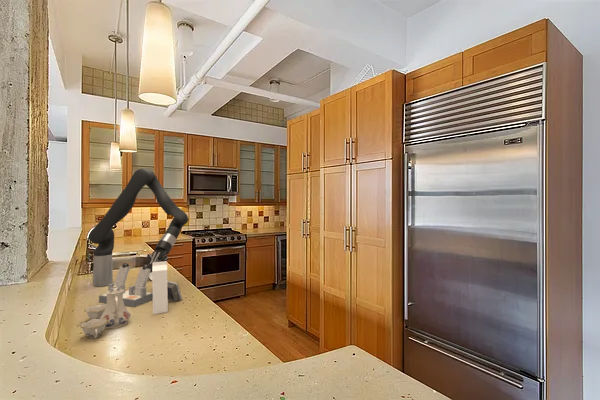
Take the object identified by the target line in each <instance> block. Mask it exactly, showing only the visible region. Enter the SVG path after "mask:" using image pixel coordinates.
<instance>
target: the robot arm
mask: <svg viewBox="0 0 600 400" xmlns="http://www.w3.org/2000/svg"><path fill="white" fill-rule="evenodd" d="M145 186H147V187H148V188H149V189H150V190H151V192H152V193H153V194H154V196H155V198H156V201H157V203H158V205H159V206H160V208H161V209H162V210H163V212H164V213H165V214H166V215H171V216H172V217H173V218H172V220H171V221H170V223H169V225H168V228H166V231H165V232H164V233H163V235H162V236H161V237H160V239H159V241H158V243H156V245H155V247H154V251H152V252H151V254H149V253H148V254H147V255H146V259H147V263H148V264H150V265H149V269H151V270H150V272H152V263H153V262H161V261H162V262H164V261H167V262H168V260H170V258H169V257H168V255H169V253H170V252H171V251H172V249H173V247H174V245H175V243H176V241H177V239H178V237H179V235H180V234H181V233H180V232H181V230H182V228H183V227H184V226H185V225H187V223H188V222H189V216H188V215H187V213H186V212H185V211H184V210H182V209H181V208H180V207H178V206H177V205H176V203H175V202H174V201H173V199H172V198H171V196H170V195H169V194H168V193H167V192H166V191H165V188H163V185H162V184H161V182H160V180H159V179H158V177H157V176H156V174H155V172H154V171H153V170H152V169H150V168H145V167H144V168H143V167H142V168H139V169H137V170H135V171H134V172H133V174H132V175H131V178H130V179H129V180H128V182H127V184H126V186H125V187H124V189H123V190H122V191H121V193H119V195H118V196H117V198H116V199H115V201H114V202H113V203H112V205H111V206H110V208H109V209H108V210H107V211H106V212H105V215H104V216H103V217H102V219H100V221H99V222H98V223H97V224H96V225H95V226H94V228H93V229H92V230H91V231H90V233H89V240H90V242H91V243H93V244H96V245H97V246H96V248H95V249H94V250H93V255H92V256H93V268H92V285H93V286H94V287H108V285H109V284H112V283H114V282H113V281H114V280H113V279H114V278H113V277H114V275H113V271H114V270H113V265H114V264H113V252H114V248H115V232H114V230H113V227H114V226H115V225H116V224H118V223H119V222H120V221H122V220H123V219H124V218H125V217H126V216H127V215H128V214H129V213H130V211H131V210H132V208H133V207H134V205H135V202H136V200H137V196H138V194H139V193H140V192H141V190H142V189H144V187H145Z"/></svg>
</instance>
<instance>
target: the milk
mask: <svg viewBox="0 0 600 400" xmlns="http://www.w3.org/2000/svg"><path fill="white" fill-rule="evenodd" d="M167 281H168V260H167V261H164V262H153V263H152V280H151V282H152V293H153V300H152V315H157V314H164V313H168V312H169V310H168V309H169V308H168V307H169V305H168V302H169V300H168V294H167Z"/></svg>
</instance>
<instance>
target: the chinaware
mask: <svg viewBox="0 0 600 400" xmlns="http://www.w3.org/2000/svg"><path fill="white" fill-rule="evenodd" d="M123 291H124V290H123V289H120V288H118V287H117V286H116V285H115V284H114V286H113V287H112V288H111V289H110V291H108V290H107V291H105V294H106V295H107V303H101V304H98V305H90V306H88V307H87V308H84V310H83V311H84V312H86V314H87V317H88V318H89V320H88V321H86V322H81V323H80V329H82V332H83V334H84V335H85V336H87V337H88V339H91V340H93V339H97V338H99V337H100V336H101V335H100V334H102V333H103V332H104V331H105V330H113V329H119V328H122V327H124V326H126V325H127V324H128V320H129V319H130V317H131V316H132V314H131V312H130V311H129V309H128V308H127V306H125V305H124V302H123Z"/></svg>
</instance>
